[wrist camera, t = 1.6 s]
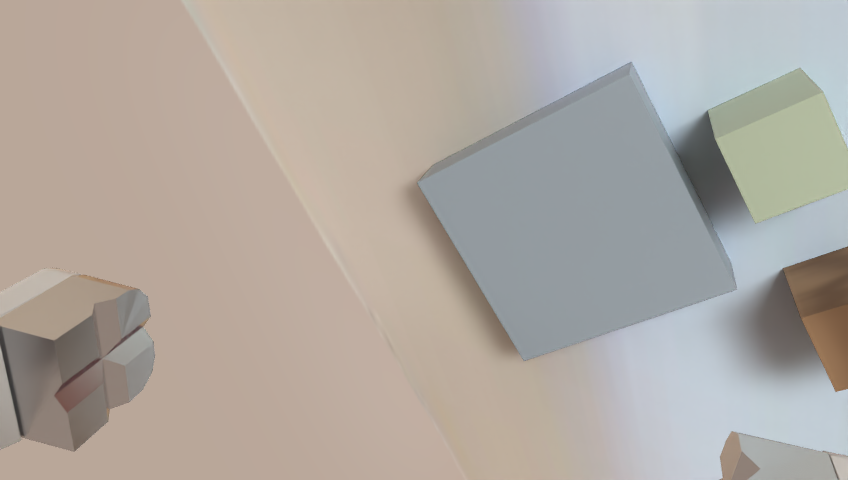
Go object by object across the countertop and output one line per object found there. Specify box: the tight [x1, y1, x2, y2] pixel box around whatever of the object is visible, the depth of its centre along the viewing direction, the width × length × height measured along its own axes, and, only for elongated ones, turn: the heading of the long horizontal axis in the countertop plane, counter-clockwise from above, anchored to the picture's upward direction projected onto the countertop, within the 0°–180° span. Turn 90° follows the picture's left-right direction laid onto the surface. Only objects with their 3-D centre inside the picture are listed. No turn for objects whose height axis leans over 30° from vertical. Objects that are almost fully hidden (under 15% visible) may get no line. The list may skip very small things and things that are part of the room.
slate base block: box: [417, 62, 737, 361], centre depth 43 cm, size 14×14×4 cm
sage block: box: [708, 68, 848, 224], centre depth 36 cm, size 5×5×6 cm
